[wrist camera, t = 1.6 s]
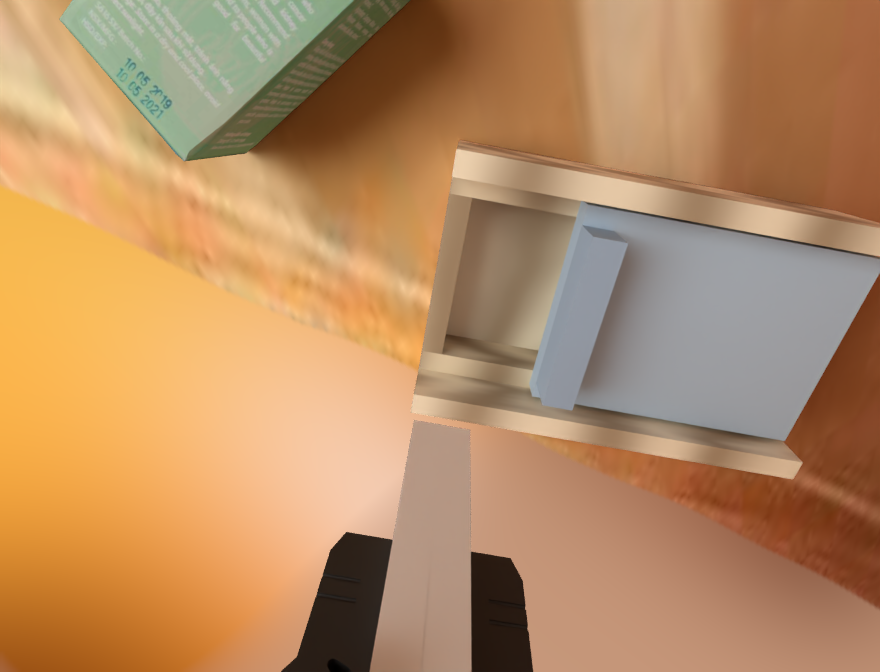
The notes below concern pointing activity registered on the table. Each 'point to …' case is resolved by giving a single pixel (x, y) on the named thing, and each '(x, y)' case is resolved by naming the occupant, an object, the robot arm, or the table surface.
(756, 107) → the table surface
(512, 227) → the case
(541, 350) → the cover plate
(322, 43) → the box
